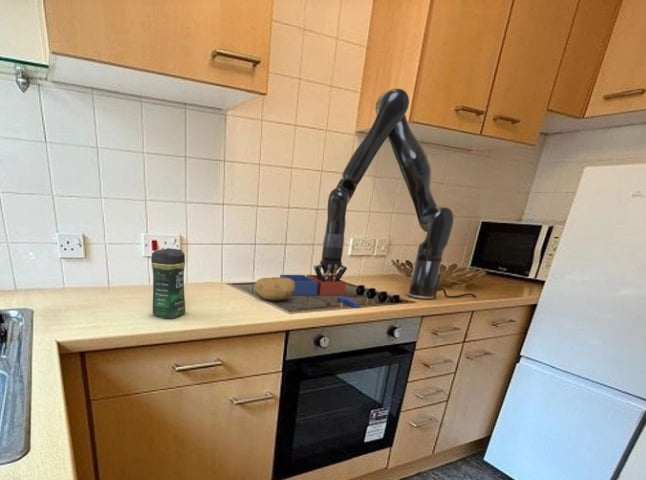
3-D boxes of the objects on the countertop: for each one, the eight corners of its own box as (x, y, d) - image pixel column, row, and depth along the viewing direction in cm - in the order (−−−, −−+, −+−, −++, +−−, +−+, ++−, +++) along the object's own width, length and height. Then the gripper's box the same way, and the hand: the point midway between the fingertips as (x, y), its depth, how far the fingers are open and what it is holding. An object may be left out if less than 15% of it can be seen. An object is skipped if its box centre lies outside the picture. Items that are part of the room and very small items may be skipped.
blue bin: (302, 287, 168) (303, 274, 166) (316, 295, 154) (318, 281, 152) (278, 287, 165) (279, 274, 163) (291, 295, 152) (292, 281, 150)
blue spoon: (336, 299, 148) (336, 296, 147) (346, 299, 149) (346, 295, 148) (350, 307, 138) (351, 303, 137) (361, 307, 139) (362, 303, 138)
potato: (254, 296, 146) (255, 274, 143) (293, 298, 146) (295, 276, 143) (253, 302, 137) (254, 278, 134) (295, 305, 137) (297, 281, 134)
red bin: (328, 287, 170) (329, 275, 168) (344, 295, 157) (346, 282, 155) (305, 287, 168) (306, 274, 166) (319, 295, 154) (321, 281, 152)
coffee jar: (173, 320, 112) (171, 251, 105) (148, 316, 115) (145, 248, 108) (189, 313, 121) (189, 248, 114) (166, 309, 123) (165, 246, 116)
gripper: (320, 246, 148) (314, 293, 154) (354, 247, 151) (347, 293, 157) (312, 244, 154) (307, 289, 161) (345, 245, 158) (339, 289, 164)
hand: (327, 291), depth 159 cm, fingers closed
